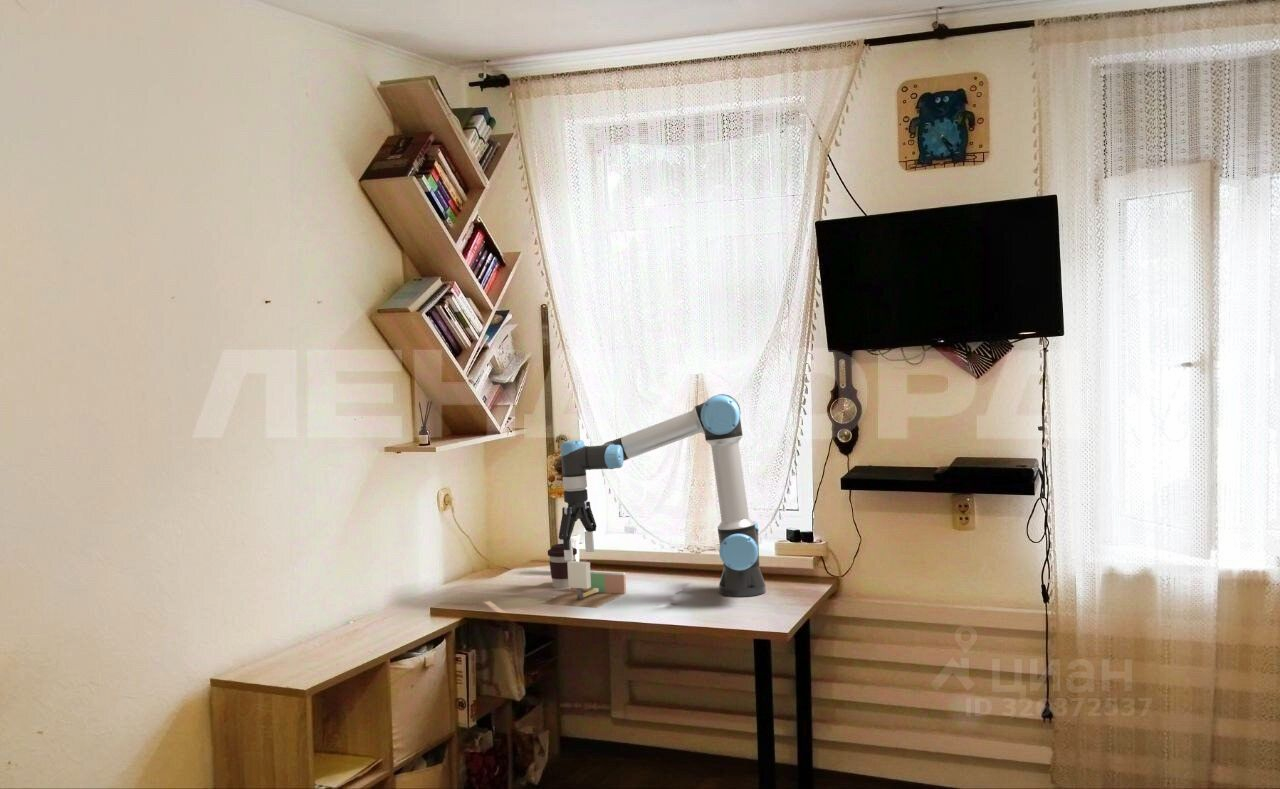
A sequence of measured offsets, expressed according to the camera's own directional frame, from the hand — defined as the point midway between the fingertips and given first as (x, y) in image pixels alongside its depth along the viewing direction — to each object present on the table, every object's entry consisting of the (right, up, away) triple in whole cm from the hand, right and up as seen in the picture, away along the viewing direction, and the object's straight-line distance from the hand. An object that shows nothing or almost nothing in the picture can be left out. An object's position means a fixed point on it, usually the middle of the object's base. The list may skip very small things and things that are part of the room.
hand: (579, 555), depth 322 cm
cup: (-6, -14, +47) cm, 49 cm away
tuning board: (+1, -15, +3) cm, 15 cm away
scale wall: (+5, -14, +11) cm, 18 cm away
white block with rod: (+2, -14, +4) cm, 15 cm away
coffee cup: (-7, -15, +23) cm, 28 cm away
